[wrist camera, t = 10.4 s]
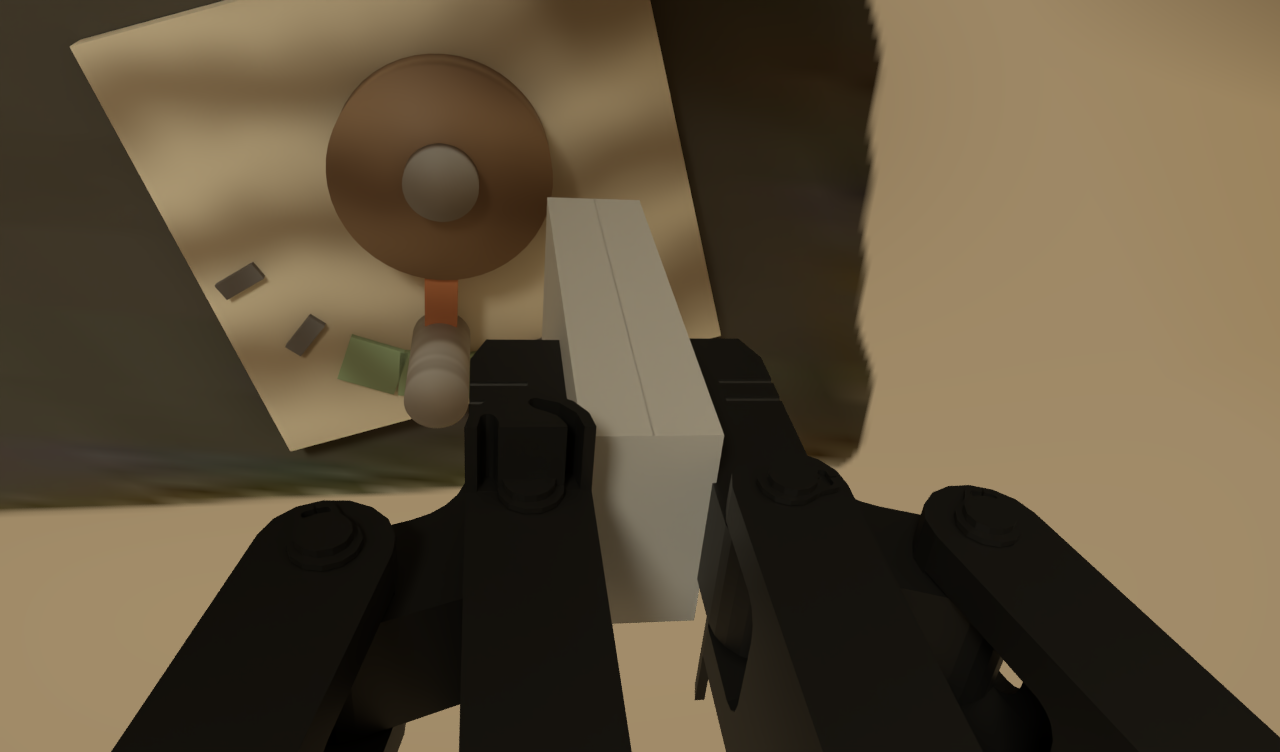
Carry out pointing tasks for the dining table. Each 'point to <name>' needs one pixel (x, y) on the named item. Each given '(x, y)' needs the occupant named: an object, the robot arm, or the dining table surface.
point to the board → (297, 186)
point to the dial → (439, 198)
